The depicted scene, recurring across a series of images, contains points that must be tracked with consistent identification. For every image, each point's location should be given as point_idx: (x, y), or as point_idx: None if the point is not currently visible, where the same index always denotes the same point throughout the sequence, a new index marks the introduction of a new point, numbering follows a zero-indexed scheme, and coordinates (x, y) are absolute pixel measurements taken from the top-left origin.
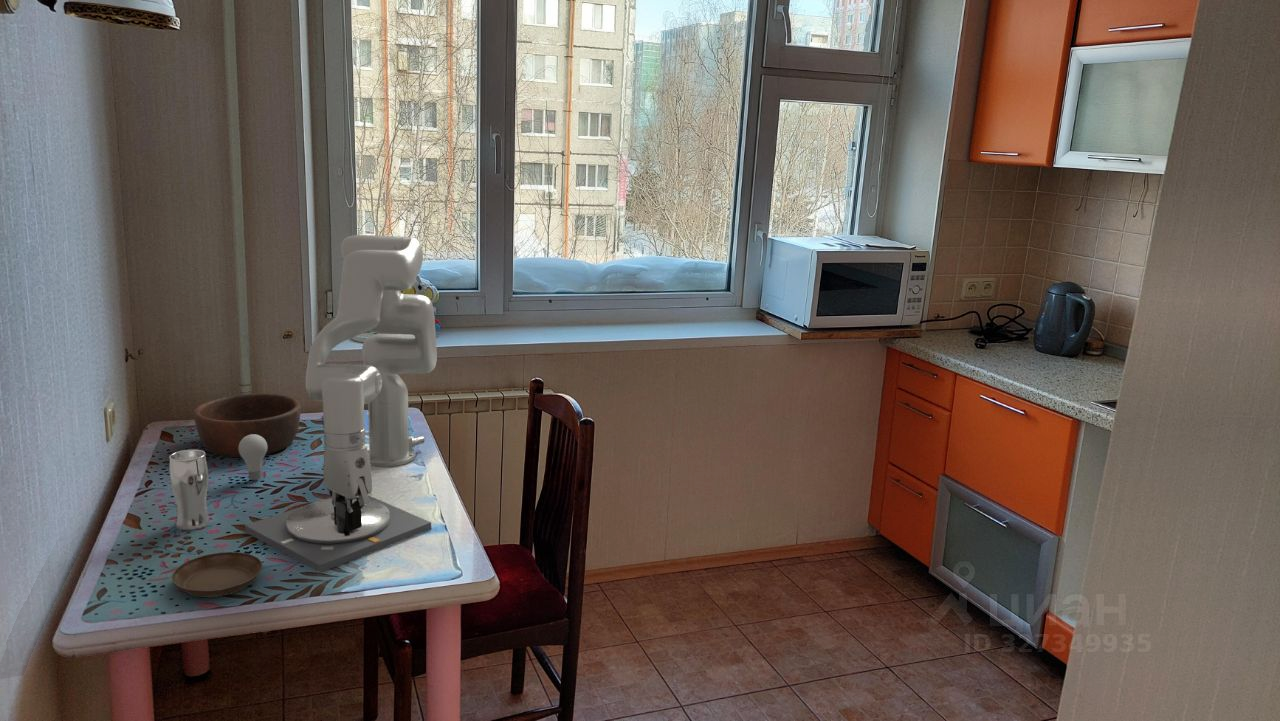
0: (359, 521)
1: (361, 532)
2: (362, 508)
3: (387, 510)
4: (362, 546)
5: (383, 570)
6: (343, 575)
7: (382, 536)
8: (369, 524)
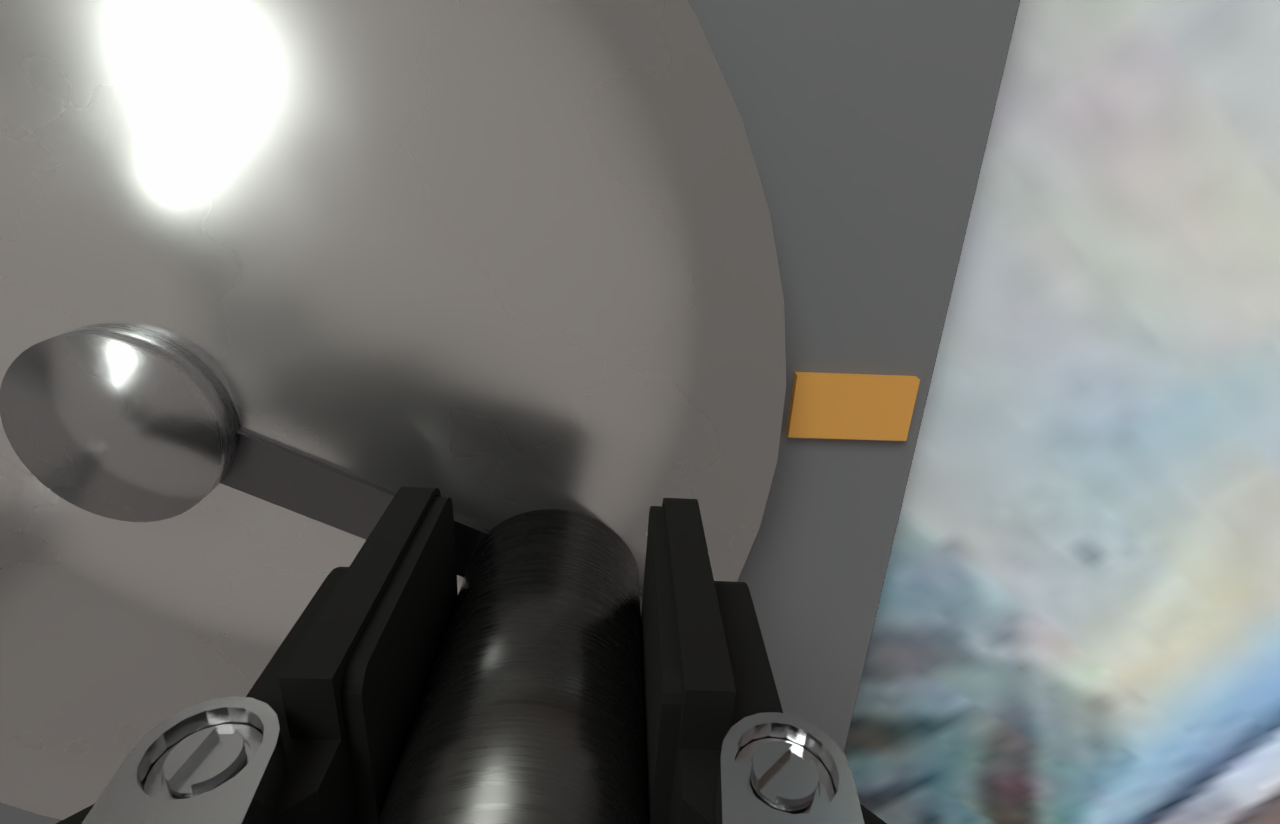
0: (751, 612)
1: (740, 509)
2: (833, 744)
3: None
4: (851, 549)
5: (1171, 574)
6: (958, 755)
7: (855, 286)
8: (632, 313)
